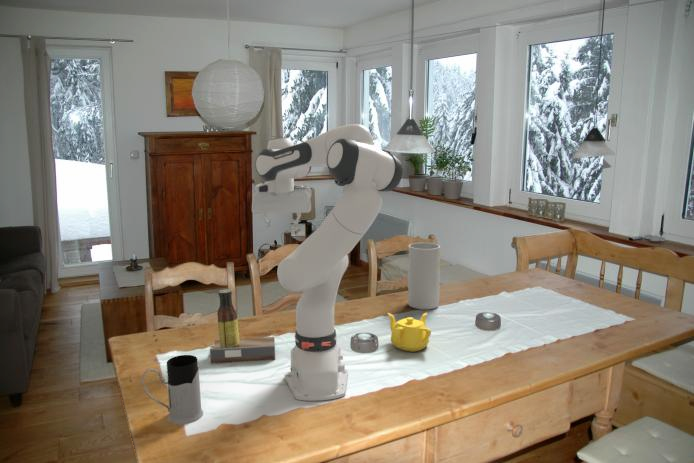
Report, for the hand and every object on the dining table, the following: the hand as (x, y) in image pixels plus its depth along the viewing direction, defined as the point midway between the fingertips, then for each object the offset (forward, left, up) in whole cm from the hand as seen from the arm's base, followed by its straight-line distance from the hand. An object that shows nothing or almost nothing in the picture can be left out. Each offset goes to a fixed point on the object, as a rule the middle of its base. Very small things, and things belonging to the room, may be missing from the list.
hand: (282, 226), depth 194 cm
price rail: (-22, +14, -38) cm, 46 cm away
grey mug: (-54, +30, -39) cm, 73 cm away
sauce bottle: (-15, +19, -38) cm, 45 cm away
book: (-14, +14, -39) cm, 44 cm away
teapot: (-17, -41, -39) cm, 59 cm away
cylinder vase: (+23, -57, -39) cm, 73 cm away
